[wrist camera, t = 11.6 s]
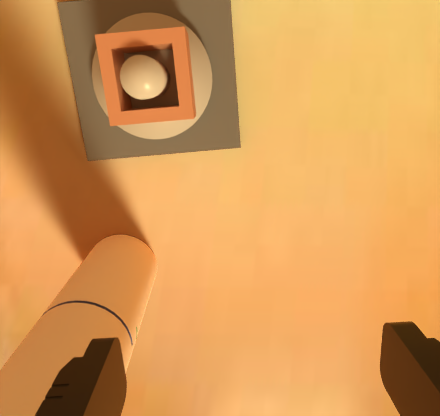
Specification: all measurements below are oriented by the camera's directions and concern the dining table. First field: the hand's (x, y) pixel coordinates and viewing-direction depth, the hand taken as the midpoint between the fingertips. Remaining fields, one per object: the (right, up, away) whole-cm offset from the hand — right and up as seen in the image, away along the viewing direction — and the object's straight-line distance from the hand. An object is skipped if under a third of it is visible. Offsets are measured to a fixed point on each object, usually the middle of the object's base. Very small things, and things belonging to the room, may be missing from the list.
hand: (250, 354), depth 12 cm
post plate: (-7, +16, +22) cm, 28 cm away
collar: (-6, +15, +20) cm, 26 cm away
